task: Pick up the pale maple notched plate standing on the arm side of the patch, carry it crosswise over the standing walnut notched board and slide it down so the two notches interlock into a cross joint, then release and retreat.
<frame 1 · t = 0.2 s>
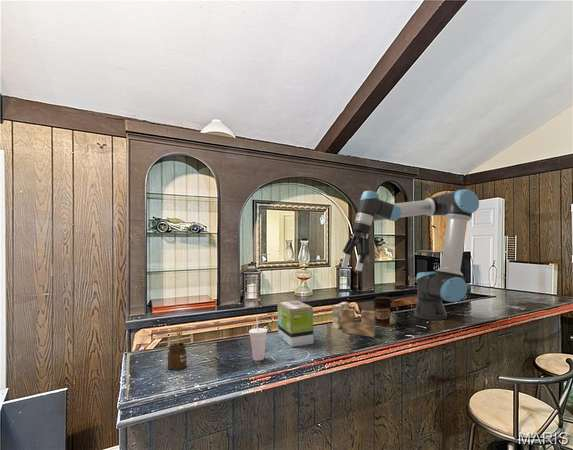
hand: (350, 269, 144), 27 cm above the counter, tool tilted 20°, fingers open, 13 cm apart
walnut board: (358, 333, 137), on the counter
utensil holder: (177, 367, 105), on the counter
tea box: (295, 340, 130), on the counter
maple plate: (341, 325, 152), on the counter
smoothie: (258, 359, 110), on the counter
coffee cup: (383, 325, 150), on the counter
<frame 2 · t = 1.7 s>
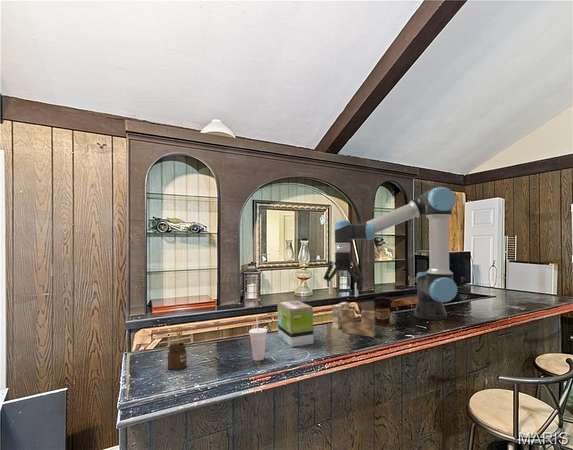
hand: (343, 295, 156), 14 cm above the counter, tool pointing down, fingers open, 13 cm apart
nothing on the counter moved.
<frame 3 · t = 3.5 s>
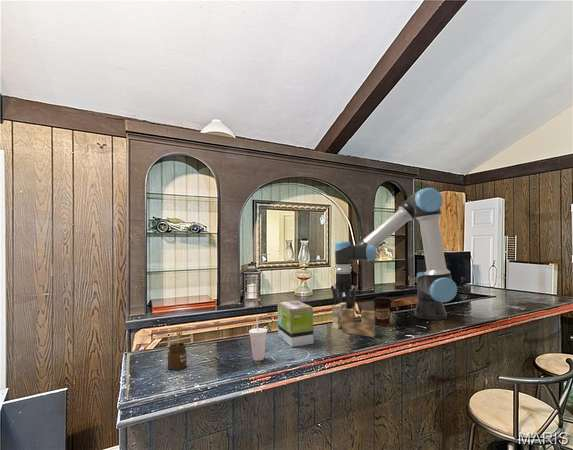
hand: (344, 321, 155), 1 cm above the counter, tool pointing down, fingers closed on maple plate, 2 cm apart
maple plate: (341, 325, 152), on the counter, touching gripper
everything else where it was.
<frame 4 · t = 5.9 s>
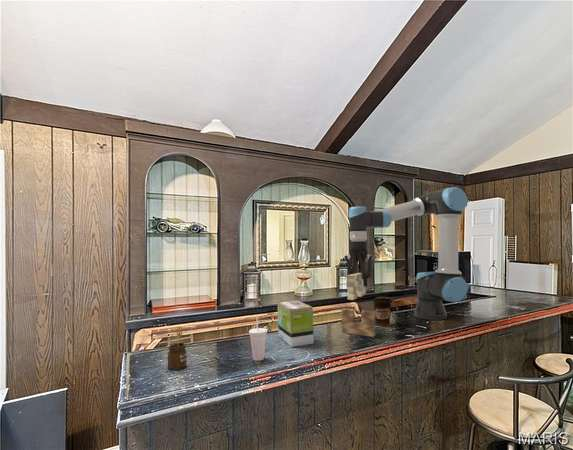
hand: (360, 293, 143), 17 cm above the counter, tool pointing down, fingers closed on maple plate, 2 cm apart
maple plate: (356, 297, 139), point 15 cm above the counter, touching gripper
everything else where it was.
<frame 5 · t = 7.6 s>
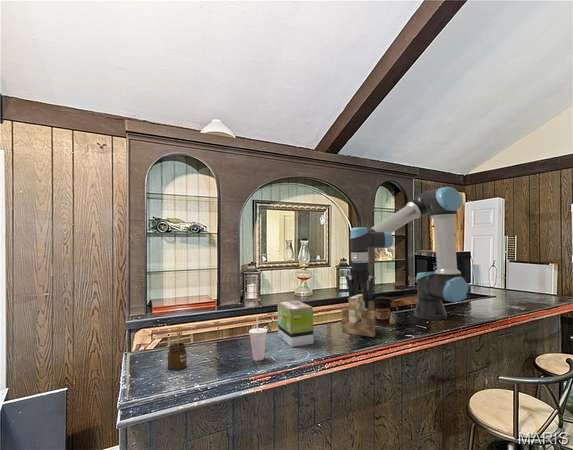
hand: (361, 314, 142), 7 cm above the counter, tool pointing down, fingers closed on maple plate, 2 cm apart
maple plate: (357, 319, 138), point 6 cm above the counter, touching gripper
everything else where it was.
when the fingers open (2 cm above the counter, at t = 8.7 s): maple plate drops 1 cm, on the counter.
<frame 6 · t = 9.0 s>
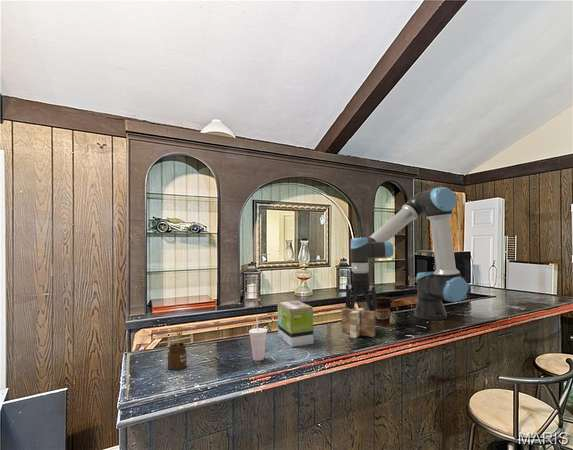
hand: (361, 324, 141), 3 cm above the counter, tool pointing down, fingers open, 7 cm apart
maple plate: (358, 333, 137), on the counter
everything else where it was.
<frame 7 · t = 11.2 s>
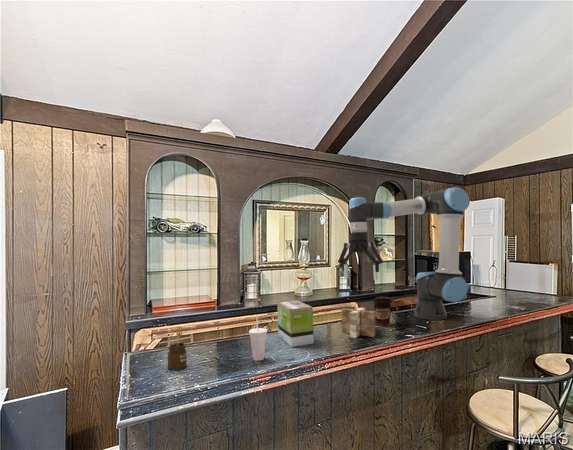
hand: (360, 279, 143), 23 cm above the counter, tool pointing down, fingers open, 13 cm apart
nothing on the counter moved.
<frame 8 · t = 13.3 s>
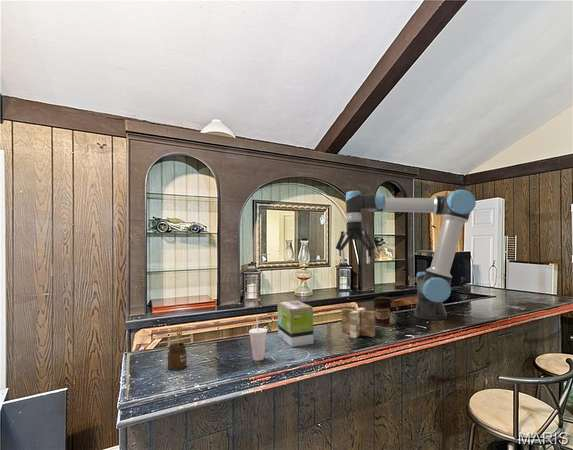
hand: (355, 263, 162), 29 cm above the counter, tool pointing down, fingers open, 13 cm apart
nothing on the counter moved.
at the end: maple plate 0.1 cm off-centre on the walnut board, point 0.0 cm above the walnut board's base; maple plate tilted 0°; the gripper is holding nothing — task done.
